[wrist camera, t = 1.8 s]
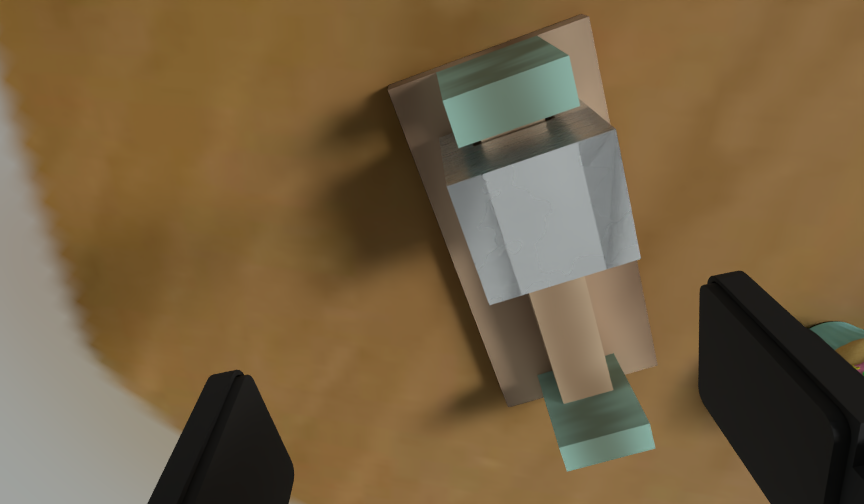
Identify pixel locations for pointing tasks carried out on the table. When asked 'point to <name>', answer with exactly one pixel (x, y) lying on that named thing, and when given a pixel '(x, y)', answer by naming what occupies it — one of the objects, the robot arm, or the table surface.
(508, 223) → the grey sliding block
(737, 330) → the robot arm
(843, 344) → the cupcake
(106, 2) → the table surface
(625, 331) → the rail bed
